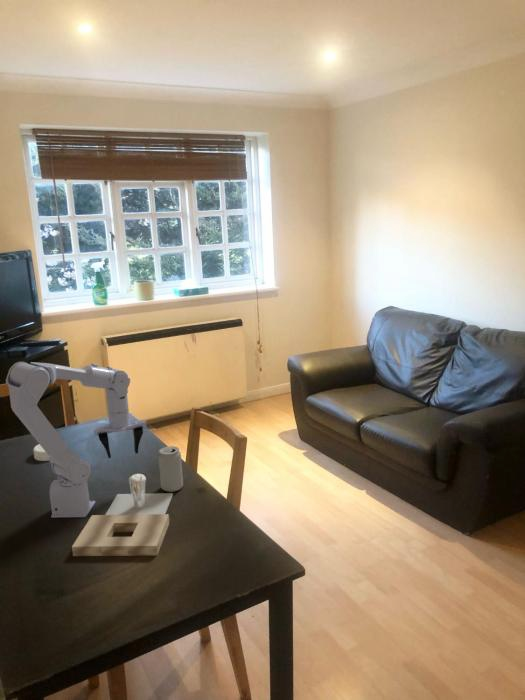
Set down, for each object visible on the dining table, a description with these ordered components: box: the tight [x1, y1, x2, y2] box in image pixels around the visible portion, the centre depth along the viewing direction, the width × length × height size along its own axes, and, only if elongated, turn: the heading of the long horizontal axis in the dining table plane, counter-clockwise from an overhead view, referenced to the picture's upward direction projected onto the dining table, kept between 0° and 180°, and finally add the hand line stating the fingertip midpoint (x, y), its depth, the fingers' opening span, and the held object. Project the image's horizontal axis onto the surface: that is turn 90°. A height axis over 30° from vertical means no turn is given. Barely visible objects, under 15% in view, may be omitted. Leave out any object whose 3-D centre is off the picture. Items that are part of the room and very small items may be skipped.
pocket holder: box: [71, 513, 170, 557], centre depth 135 cm, size 20×14×2 cm
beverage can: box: [157, 445, 184, 493], centre depth 158 cm, size 6×6×12 cm
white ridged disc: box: [32, 443, 50, 462], centre depth 186 cm, size 10×10×4 cm
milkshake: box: [128, 473, 147, 509], centre depth 148 cm, size 5×5×10 cm
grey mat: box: [104, 492, 174, 515], centre depth 150 cm, size 16×12×1 cm
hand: (123, 454), depth 159 cm, fingers open, 7 cm apart
